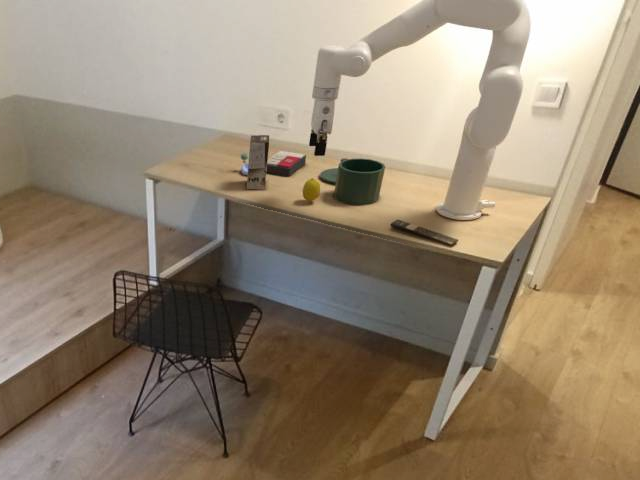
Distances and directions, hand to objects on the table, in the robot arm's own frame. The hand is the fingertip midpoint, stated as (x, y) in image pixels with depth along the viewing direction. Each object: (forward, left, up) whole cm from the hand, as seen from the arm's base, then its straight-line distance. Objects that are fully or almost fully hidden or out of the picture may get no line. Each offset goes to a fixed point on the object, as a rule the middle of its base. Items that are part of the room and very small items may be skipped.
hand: (316, 150), depth 195 cm
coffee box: (+16, -16, -17) cm, 29 cm away
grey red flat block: (+4, -34, -17) cm, 38 cm away
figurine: (+17, -29, -17) cm, 38 cm away
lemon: (0, +1, -17) cm, 17 cm away
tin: (-16, -3, -17) cm, 23 cm away
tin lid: (-15, -22, -16) cm, 31 cm away
